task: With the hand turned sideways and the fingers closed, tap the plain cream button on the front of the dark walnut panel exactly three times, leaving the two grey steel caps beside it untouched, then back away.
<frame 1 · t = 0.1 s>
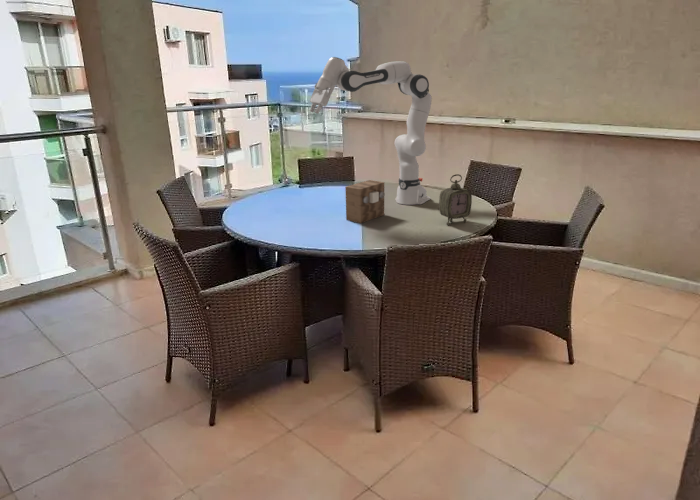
hand: (313, 112, 252), 54 cm above the table, tool tilted 30°, fingers open, 8 cm apart
cream button: (372, 196, 254), point 12 cm above the table, slide at 0.0 cm
tabletop clock: (453, 222, 248), on the table
walnut panel: (362, 216, 262), on the table
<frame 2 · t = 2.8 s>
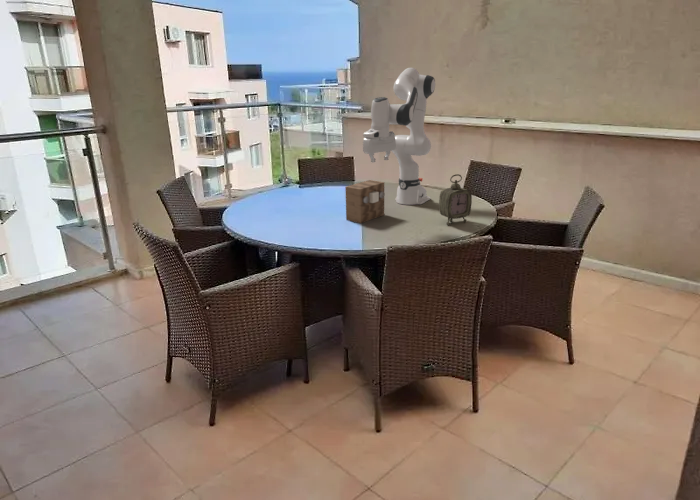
hand: (379, 161, 240), 32 cm above the table, tool pointing down, fingers open, 8 cm apart
nothing on the table moved.
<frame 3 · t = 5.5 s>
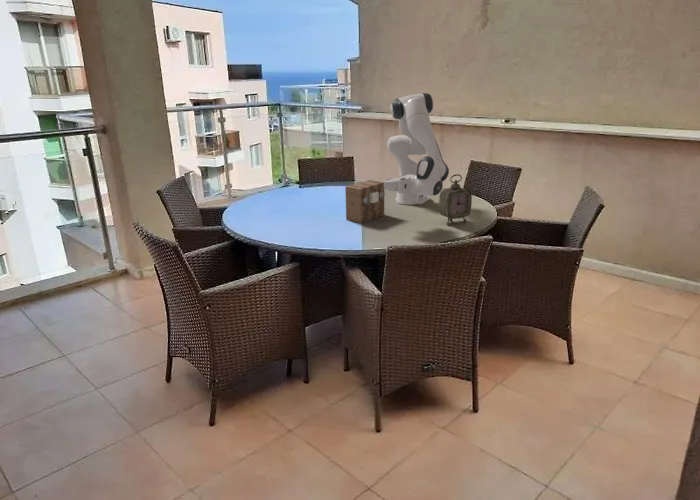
hand: (387, 180, 244), 22 cm above the table, tool horizontal, fingers closed
nothing on the table moved.
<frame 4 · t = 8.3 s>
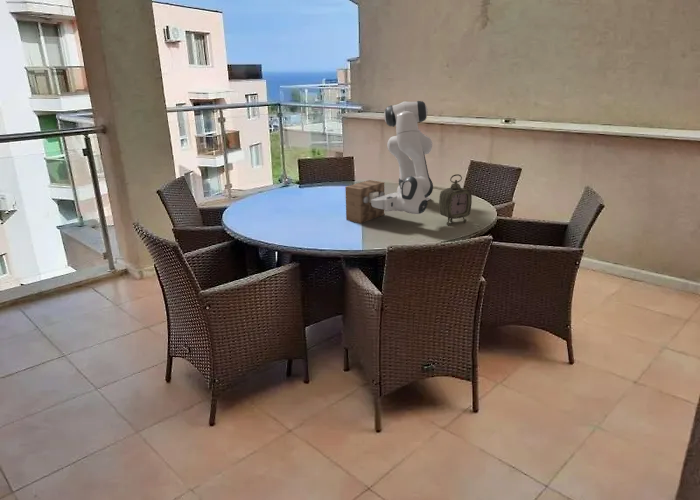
hand: (375, 197, 252), 12 cm above the table, tool horizontal, fingers closed, pressing on cream button
cream button: (372, 196, 254), point 12 cm above the table, slide at 0.1 cm, touching gripper
everything else where it was.
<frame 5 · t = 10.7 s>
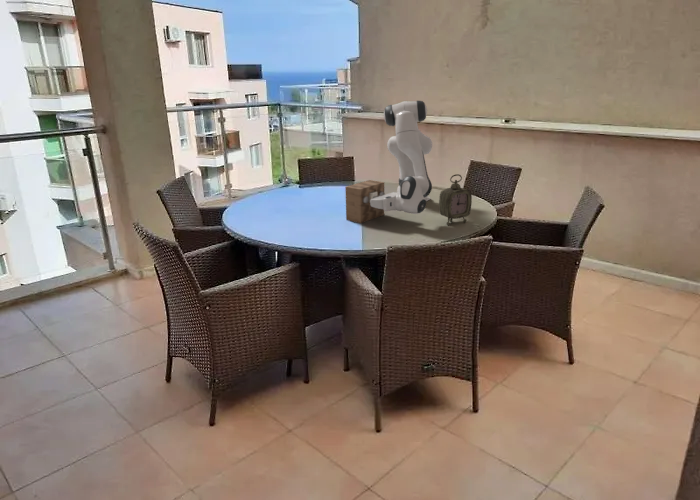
hand: (374, 197, 253), 12 cm above the table, tool horizontal, fingers closed, pressing on cream button
cream button: (371, 196, 254), point 12 cm above the table, slide at 0.8 cm, touching gripper
everything else where it was.
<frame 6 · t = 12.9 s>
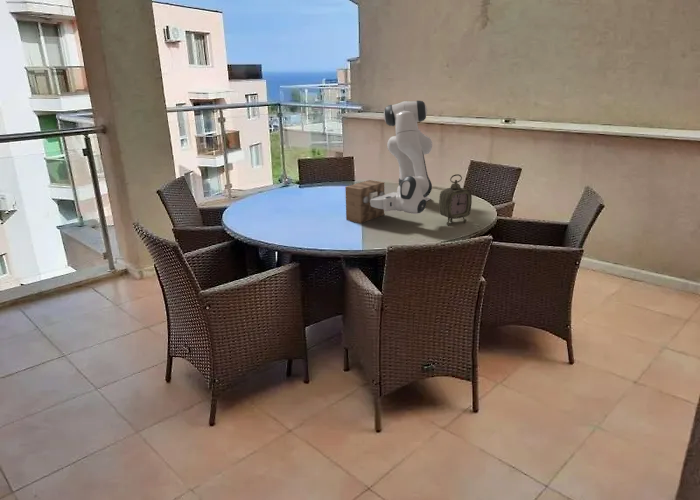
hand: (374, 197, 253), 12 cm above the table, tool horizontal, fingers closed, pressing on cream button
cream button: (371, 196, 254), point 12 cm above the table, slide at 0.8 cm, touching gripper
everything else where it was.
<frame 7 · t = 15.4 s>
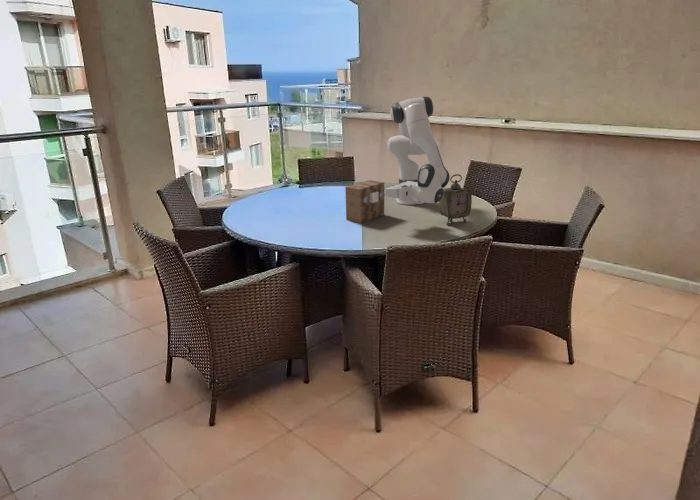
hand: (389, 186, 245), 19 cm above the table, tool horizontal, fingers closed
cream button: (372, 196, 254), point 12 cm above the table, slide at 0.1 cm
everything else where it was.
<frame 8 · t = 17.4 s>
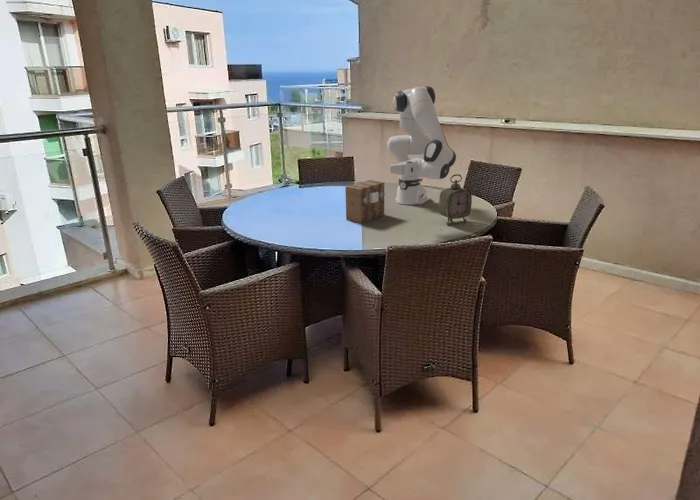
hand: (393, 164, 241), 30 cm above the table, tool horizontal, fingers closed
nothing on the table moved.
at the end: cream button slide at 0.1 cm; cream button moved 0.1 cm from its start; tabletop clock moved 0.2 cm from its start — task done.
